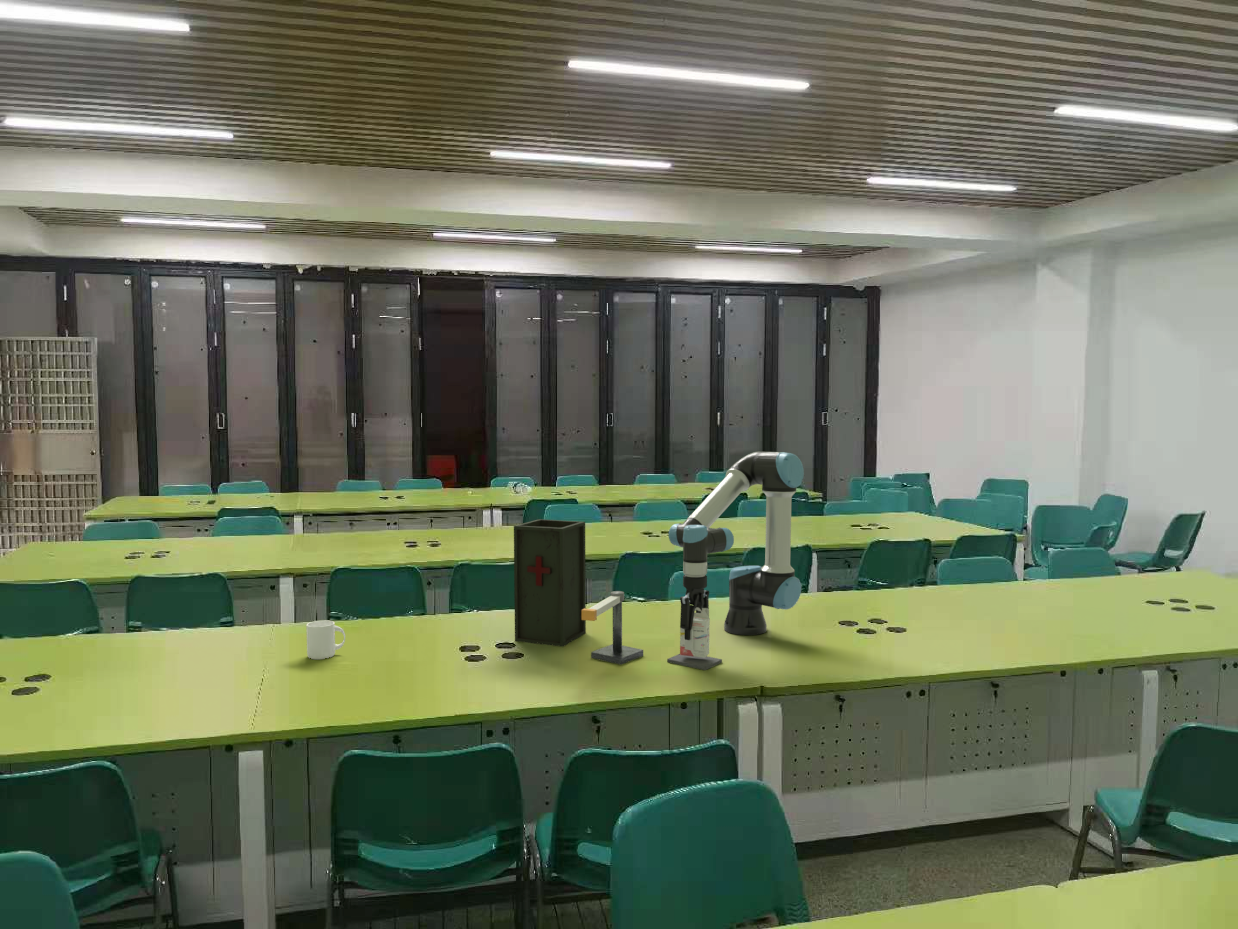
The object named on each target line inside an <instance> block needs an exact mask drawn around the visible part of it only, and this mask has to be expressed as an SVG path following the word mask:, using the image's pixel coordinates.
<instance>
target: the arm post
mask: <svg viewBox="0 0 1238 929" xmlns="http://www.w3.org/2000/svg"><path fill="white" fill-rule="evenodd" d="M590 655H591V656H590V658H591V659H594V660H599V661H603V662H607V663H611V664H615V665H619V666H621V665H624V664H626V663H629V662H631V661H634V660H637V659H639V658H642V657H644V649H641V648H637V647H631V646H627V645H623V601H622V602H620V603H618V604H617V605H615V606H613V607H612V644H609V645H607V646H604V647H601V648H598V649H596V650H595V649H594V650H593V651H590Z"/></svg>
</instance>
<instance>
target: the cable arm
mask: <svg viewBox="0 0 1238 929" xmlns="http://www.w3.org/2000/svg"><path fill="white" fill-rule="evenodd" d="M624 601H625V592H624V591H621V590H615V591H611V592H610V596H608V597H606V598H605V599H603V600H601V601H599V602H598V603H596V604H594V605H592V606H591V607H588V608H586V609H585V608H584V609H582V620H586V621H588V622H589V621H590V622H595V621H597V618H598V617H599V616H600V615H602V614H604V613H605V612H607V611H609V610H610V609H613V606H615V605H617V604H618V603H620V602H622V603H623V602H624Z"/></svg>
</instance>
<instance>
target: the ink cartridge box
mask: <svg viewBox="0 0 1238 929" xmlns="http://www.w3.org/2000/svg"><path fill="white" fill-rule="evenodd" d="M696 610H698V611H701V609H700V608H698V607H697V608H695V612H694V618H693V624H692V629H693V650H687V649H685V630H684V629H682V628H680V627H679V628H680V630H679V633H680V634H679V635H680V636H679V639H680V640H679V654H680V655H685V656H694V657H703V658H706V657H707V656H708V655H709V654H710V626H711V625H710V622H711V620H710V608H709V609H708V608H702V611H701V613H696Z"/></svg>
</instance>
